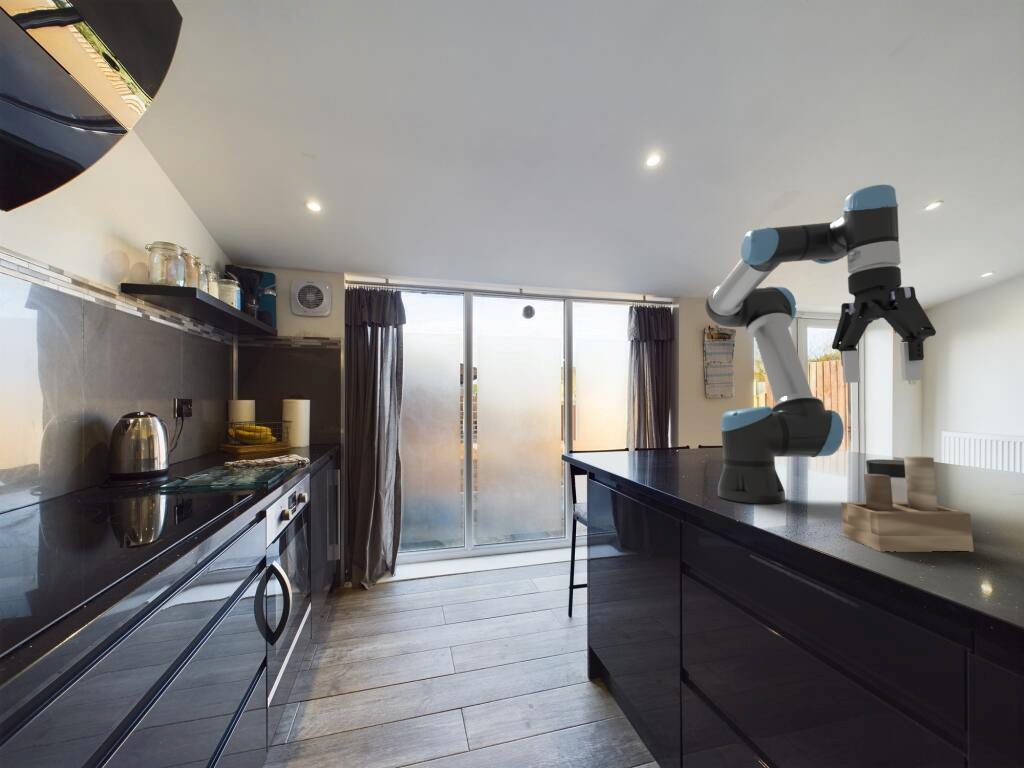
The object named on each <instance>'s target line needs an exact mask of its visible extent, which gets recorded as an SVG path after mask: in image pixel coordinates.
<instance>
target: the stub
mask: <svg viewBox="0 0 1024 768" xmlns="http://www.w3.org/2000/svg"><path fill="white" fill-rule="evenodd" d="M863 475H864V476H863V477H864V478H863V479H864V492H865V494H864V495H865V502H866V507H867V509H869V510H873V511H876V512H880V511H893V501H892V489H891V477H890V476H888V475H882V474H867V473H865V474H863Z"/></svg>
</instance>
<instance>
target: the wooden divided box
mask: <svg viewBox="0 0 1024 768" xmlns="http://www.w3.org/2000/svg"><path fill="white" fill-rule="evenodd" d="M937 506H938V511H918V510H914V509H911V508H908V503H907V502H893V511H880V512H876V511H873V510H869V509H867V507H866V501H864V502H857V501H856V502H852V501H851V502H840V508H841V520H842V532H843V533H842V535H843V537H844V536H845V538H846V539H849V538H850V539H849V540H851V539H852V541H854V542H856V541H857V543H860V544H861V545H863V544H864V545H863V546H866V547H868V548H870V547H871V548H870V549H873V550H875V551H877V550H878V552H882V553H883V552H885V551H890V553H891V552H893V553H894V551H896V552H898V553H901V552H903V553H905V552H906V553H910V552H911V553H912V552H913V553H914V552H915V553H920V552H921V553H922V552H924V553H926V552H927V553H932V551H969V552H968V553H974V551H975V550H974V542H973V529H972V518H971V513H969V512H965V511H961V510H957V509H955V508H954V509H953V508H949V507H945V506H941V505H937ZM896 552H895V553H896ZM885 553H886V552H885Z"/></svg>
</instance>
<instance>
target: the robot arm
mask: <svg viewBox="0 0 1024 768" xmlns="http://www.w3.org/2000/svg"><path fill="white" fill-rule="evenodd" d="M898 208H899V204H898V202H897V194H896V189H895V187H894V186H892V185H890V184H876V185H870V186H867V187H866V186H865V187H864V188H861V189H858V190H856V191H854V192H852V193H850V194H849V195H848V196H846V198H845V200H844V204H843V209H842V211H843V215H841V216H840V217H838V218H837V219H836V220H834V221H831V222H821V223H809V224H800V225H799V224H798V225H790V226H789V225H788V226H787V225H786V226H778V227H771V226H770V227H769V226H768V227H764V228H758V229H753V230H750V231H748V232H747V233H746V234H745V235H744V236H743V241H742V243H741V248H740V255H741V259H740V260H739V261H738V263H737V264H736V265H735V266H734V268H733V269H732V271H730V273H729V274H728V276H726V278H725V279H724V280H723V282H722V283H721V284H720V285H717V286H716V287H715V288H713V289H712V290H711V291H710V293H709V294H708V295H707V297H706V300H705V307H704V308H705V312H706V314H707V316H708V317H709V319H710V320H712V321H713V322H714V323H716V324H717V325H719V326H722V327H725V328H726V327H727V328H739V327H740V328H742V327H743V328H744V327H745V328H746V331H747V334H748V336H750V337H753V338H755V342H756V345H757V348H758V351H759V354H760V357H761V362H762V363H763V368H764V371H765V373H766V374H765V375H766V377H767V381H768V383H769V387H770V390H771V393H772V397H773V399H774V400H773V401H774V405H773V406H772V407H771V406H756V407H747V408H740V409H739V408H738V409H734V410H729V411H725V412H724V413H723V414H722V416H721V427H720V431H721V440H722V441H721V442H722V443H721V444H722V456H723V457H722V458H723V469H722V472H721V474H720V478H719V482H718V485H717V496H718V497H720V498H722V499H725V500H728V501H733V502H740V503H749V504H761V505H763V504H764V505H765V504H767V505H768V504H769V505H770V504H771V505H772V504H779V503H783V502H786V491H785V489H784V485H783V484H782V482H781V479H780V477H779V475H778V472H777V469H776V461H775V457H778V458H780V457H781V458H782V457H783V458H784V457H787V458H789V457H790V458H793V457H798V458H800V457H802V458H804V457H809V458H810V457H811V458H817V457H829V456H832V455H833V454H835V453H836V452H838V451H839V449H840V448H841V445H842V443H843V439H844V430H845V429H844V422H843V420H842V417H841V416H840V414H839V413H838V412H836V411H835V410H831V409H826V408H825V405H824V402H823V400H822V399H820V398H818V397H816V396H813V392H812V391H811V387H810V385H809V382H808V379H807V377H806V373H805V370H804V368H803V365H802V363H801V359H800V356H799V354H798V352H797V349H796V346H795V342H794V340H793V337H792V334H791V332H790V330H789V328H790V326H791V325H792V323H793V321H794V319H795V317H796V313H797V308H796V305H797V302H796V299H795V296H794V294H793V293H792V291H790V290H789V289H788V288H786V287H783V286H767V287H759V288H758V286H760V284H762V283H763V281H765V279H766V278H767V277H768V276H769V275H771V273H772V272H773V271H774V270H776V268H778V267H779V266H780V265H781V264H782V263H790V262H802V261H803V262H804V261H812V262H815V263H817V264H822V265H825V264H830V263H833V262H837V261H839V260H841V259H843V258H845V257H847V273H848V274H849V276H847V285H848V286H847V287H848V289H847V290H848V293H849V294H850V295H853V296H854V301H853V302H843V303H842V304H841V306H840V308H841V309H840V310H841V312H840V318H839V321H838V324H837V327H836V331H835V334H834V337H833V341H832V344H831V349H833V350H837V351H838V352H840V358H841V359H840V360H841V361H840V362H841V363H840V365H841V368H842V378H843V379H842V381H843V382H842V383H844V384H847V383H850V384H851V383H861V379H860V378H861V375H860V359H859V355H860V354H859V350H858V348H857V346H858V344H859V342H860V340H861V339H862V336H863V335H864V333H865V331H866V329H867V328H868V326H869V325H870V324H872V323H873V321H878V320H880V319H884V320H885V321H886V322H887V323H888V324H889V325H890V326H891V328H892V329H893V330H895V332H896V333H897V334H898V335H899V336H900V337H901V338H902V339H901V340H900V342H901V343H899V348H900V349H899V350H900V351H899V352H900V367H901V368H900V369H901V381H902V382H903V381H924V379H923V366H922V365H923V361H924V357H925V356H924V355H925V354H924V342H925V340H927V338H930V337H934V336H935V335H936V334H937V330H936V329H935V327H934V326H933V324H932V322H931V320H930V319H929V317H928V315H927V314H926V312H925V310H924V309H923V307H922V306H921V303H920V302H919V300H918V298H917V295H916V289H915V287H914V286H902V272H901V268H900V267H899V265H900V264H901V263H902V261H901V252H900V249H901V248H900V242H899V239H900V237H899V235H900V234H899V211H898Z"/></svg>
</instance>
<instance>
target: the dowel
mask: <svg viewBox="0 0 1024 768" xmlns="http://www.w3.org/2000/svg"><path fill="white" fill-rule="evenodd" d="M903 461H904V464H905V477H906V490H907V503H908V508H911V509H914V510H918V511H938V506H939V505H938V498H937V497H938V495H937V483H936V473H935V472H936V471H935V458H934V457H931V456H923V455H921V456H919V455H904V456H903Z"/></svg>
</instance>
